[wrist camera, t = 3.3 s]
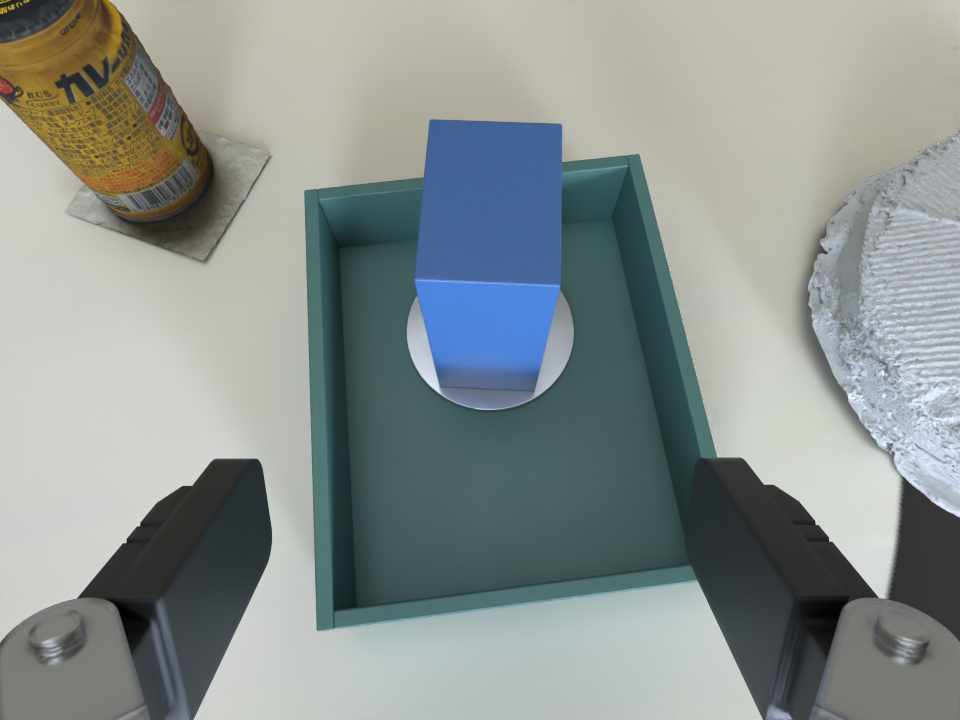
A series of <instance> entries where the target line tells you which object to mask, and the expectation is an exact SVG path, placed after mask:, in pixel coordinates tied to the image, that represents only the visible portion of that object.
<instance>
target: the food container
mask: <svg viewBox="0 0 960 720" xmlns="http://www.w3.org/2000/svg"><path fill="white" fill-rule="evenodd" d="M959 132H960V128H959ZM959 132H958V133H957V134H955V135H954V136H950V137H948V138H946V139H947V140H943V141H942V142H941V143H939V142H937V143H936V146H934V145H933V146H932V147H930V149H929V148H926V149H925V151H924V152H923V153H921V154H920V156H916V157H915V158H913V159H914V160H912V161H910V162H909V163H906V164H903V165H901V166H898V167H896V168H893V169H891V170H889V171H885V172H883V173H880V174H877V175H875V176H871V177H870V178H869V181H868V182H866V183H863V184H861V185H859V186H858V187H857V188H856V189H855V191H854V192H855V194H849V195H848V197H847V198H845V199H844V202H848V204H847V205H846V206H843V208H842V209H841V210H840V211H838V213H837V214H836V215H834V216H833V217H831V218H830V219H829V223H828V224H827V228H826V237H825V238H823V239H821V241H820V244H821V245H822V247H823V248H824V250H825V251H826V252H828V254H823V253H822V254H818V256H817V260H815V263H814V270H815V271H814V272H813V275H812V276H811V278H810V281H809V284H808V291H809V293H810V297H809V304H808V305H809V306H810V308H811V310H812V313H811V314H812V316H811V318H812V320H813V324H812V326H813V329H814V331H815V333H816V335H817V337H818V339H819V343H820V345H821V347H822V349H823V350H824V353H825V355H826V358H827V360H828V362H829V364H830V367H831V370H832V373H833V374H834V376H835V378H836V380H837V381H838V384H839V385H840V386H841V387H842V388H843V389H844V391H846V393H847V395H848V401H849V403H850V404H851V406H852V408H853V409H854V411H855V412H856V413H857V414H858V416H859V420H860V421H861V423H863V424H864V426H865V428H866V429H868V430H869V431H870V432H871V436H872V437H873V438H874V439H876V441H877V444H878V446H879V447H881V448H882V449H883V450H885V451H888V452H890V454H892V452H894V453H895V456H894V462H895V464H896V467H897V470H898V471H899V472H900V474H901V475H902V476H904V477H905V478H906V479H907V480H908V481H909V483H911V484H912V485H913V486H914V487H916V488H917V489H918V490H920V491H921V492H922V493H924V494H925V496H927V497H928V498H929V499H930V500H931V501H932V502H934V503H935V504H936V505H938V506H940V507H941V508H943V509H945V510H946V511H948V512H950V513H953V514H955V515H956V516H958V517H960V133H959ZM918 152H919V151H918ZM811 268H812V267H811Z"/></svg>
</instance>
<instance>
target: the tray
mask: <svg viewBox="0 0 960 720" xmlns="http://www.w3.org/2000/svg"><path fill="white" fill-rule="evenodd" d="M423 181H424V178H415V179H405V180H396V181H387V182H378V183H369V184H360V185H350V186H341V187H332V188H323V189H318V190H317V189H313V190H305V192H304V193H305V228H306V264H307V299H308V334H309V370H310V405H311V441H312V476H313V511H314V547H315V582H316V618H317V631H325V630H333V629H340V628H348V627H356V626H363V625H371V624H378V623H386V622H394V621H401V620H409V619H417V618H424V617H432V616H439V615H447V614H455V613H462V612H470V611H478V610H485V609H493V608H500V607H508V606H516V605H523V604H531V603H539V602H546V601H554V600H561V599H569V598H577V597H584V596H592V595H600V594H607V593H615V592H623V591H630V590H638V589H645V588H653V587H661V586H668V585H676V584H684V583H691V582H698V580H697V578H696V576H695V573H694V571H693V569H692V567H691V565H690V562H689V560H688V556H687V552H686V545H685V526H686V519H687V512H688V506H689V499H690V492H691V485H692V478H693V472H694V467H695V464H696V461H697V460H698V459H699V458H717V455H716V452H715V448H714V444H713V440H712V436H711V432H710V428H709V424H708V420H707V416H706V413H705V409H704V405H703V401H702V397H701V393H700V389H699V385H698V381H697V377H696V374H695V370H694V366H693V362H692V358H691V354H690V350H689V346H688V342H687V338H686V335H685V331H684V327H683V323H682V319H681V315H680V311H679V307H678V303H677V299H676V295H675V292H674V288H673V284H672V280H671V276H670V272H669V268H668V264H667V260H666V256H665V253H664V249H663V245H662V241H661V237H660V233H659V229H658V225H657V221H656V217H655V214H654V210H653V206H652V202H651V198H650V194H649V190H648V186H647V182H646V178H645V175H644V171H643V167H642V163H641V159H640V155H639V154H636V155H628V156H617V157H608V158H598V159H589V160H580V161H571V162H562V202H561V286H560V290H561V291H562V293H563V294H564V296H565V298H566V299H567V302H568V304H569V306H570V309H571V312H572V316H573V320H574V329H575V334H574V345H573V350H572V353H571V356H570V360H569V362H568V364H567V366H566V368H565V371H564V372H563V374H562V375H561V377H560V378H559V380H558V381H557V382H556V383H555V384H554V385H553V387H552V388H551V389H549V390H548V391H547V392H546V393H545V394H544V395H542V396H541V397H539V398H538V399H536V400H535V401H533V402H531V403H529V404H527V405H524V406H522V407H519V408H516V409H513V410H508V411H502V412H478V411H473V410H468V409H465V408H462V407H459V406H456V405H454V404H452V403H450V402H448V401H446V400H444V399H443V398H441V397H440V396H438V395H437V394H436V393H435V392H433V391H432V390H431V389H430V388H429V387H428V386H427V385H426V384H425V382H424V381H423V380H422V379H421V377H420V376H419V374H418V373H417V371H416V369H415V367H414V365H413V363H412V361H411V358H410V355H409V351H408V347H407V341H406V325H407V318H408V314H409V310H410V307H411V305H412V303H413V300H414V299H415V297H416V295H417V291H416V287H415V283H414V271H415V261H416V251H417V241H418V231H419V221H420V211H421V201H422V191H423Z"/></svg>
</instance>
